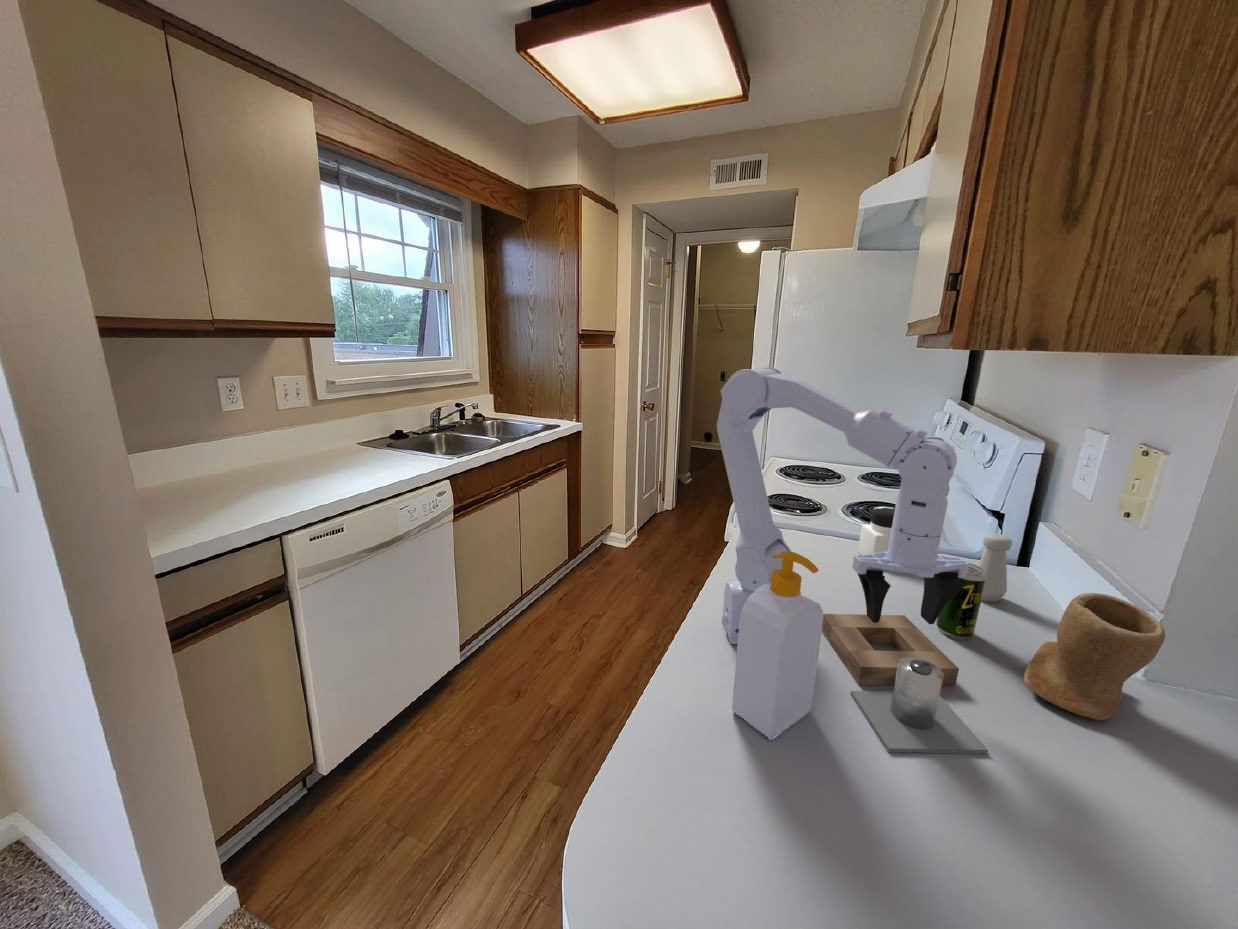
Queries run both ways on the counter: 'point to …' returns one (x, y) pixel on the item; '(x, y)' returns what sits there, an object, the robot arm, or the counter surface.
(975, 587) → the green soda can
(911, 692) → the grey round-capped cylinder
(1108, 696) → the tan boot
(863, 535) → the medicine bottle
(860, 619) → the bore block
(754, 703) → the soap bottle
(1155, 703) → the counter surface
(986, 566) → the salt shaker
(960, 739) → the rubber mat
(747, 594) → the robot arm
